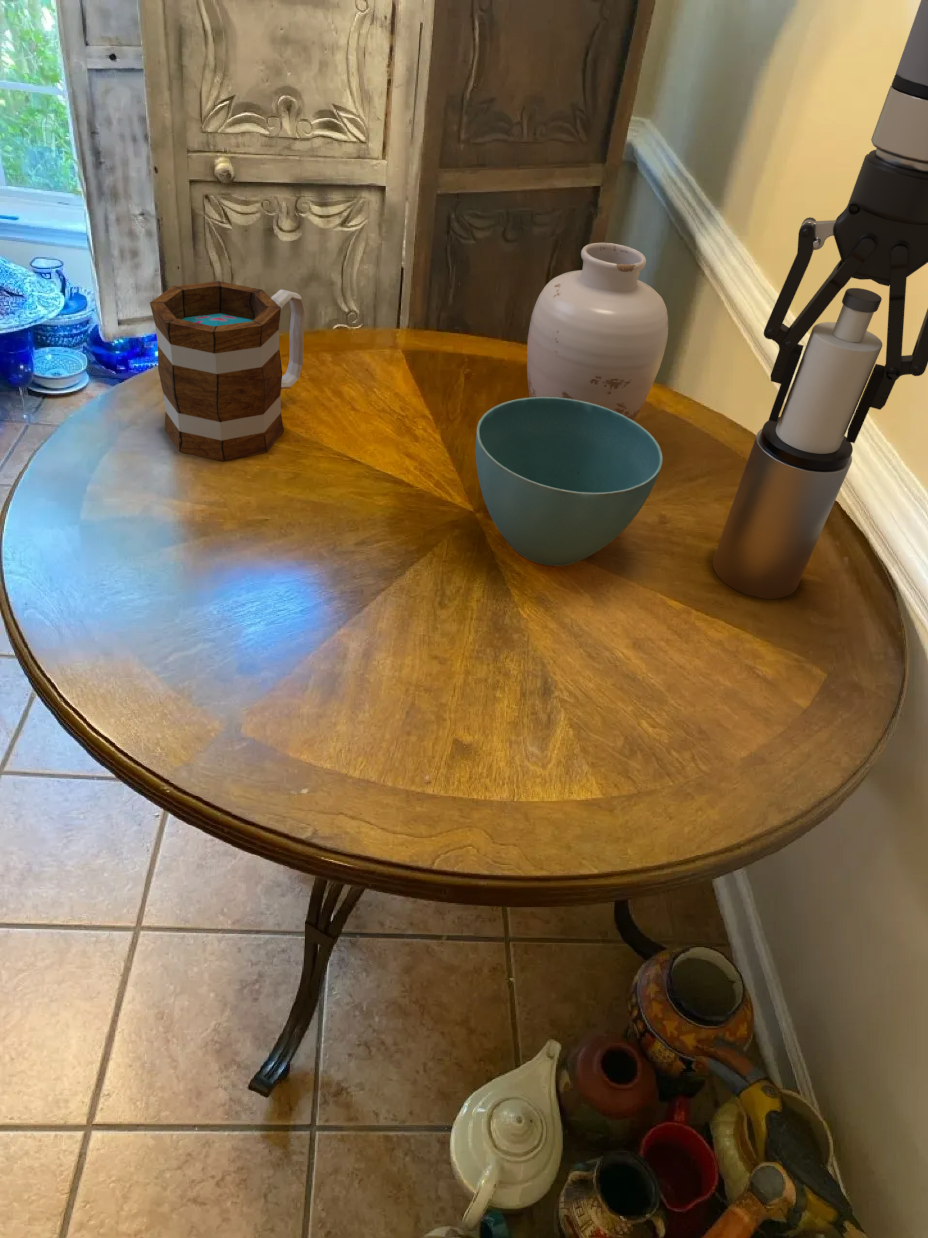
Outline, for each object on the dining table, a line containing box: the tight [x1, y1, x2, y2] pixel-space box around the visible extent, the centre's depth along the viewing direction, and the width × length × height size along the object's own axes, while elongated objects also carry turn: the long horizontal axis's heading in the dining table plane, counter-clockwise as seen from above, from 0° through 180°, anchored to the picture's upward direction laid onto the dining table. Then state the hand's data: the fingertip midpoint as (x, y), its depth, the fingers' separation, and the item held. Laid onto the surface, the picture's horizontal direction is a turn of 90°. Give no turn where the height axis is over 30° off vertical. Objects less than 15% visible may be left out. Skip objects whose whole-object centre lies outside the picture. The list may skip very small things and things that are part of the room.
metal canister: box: [712, 416, 854, 600], centre depth 91 cm, size 9×9×16 cm
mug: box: [149, 280, 306, 462], centre depth 104 cm, size 20×14×15 cm
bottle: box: [776, 287, 883, 454], centre depth 82 cm, size 6×6×14 cm
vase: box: [526, 242, 669, 421], centre depth 107 cm, size 16×16×23 cm
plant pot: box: [475, 397, 664, 567], centre depth 93 cm, size 18×18×12 cm
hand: (812, 424), depth 85 cm, fingers open, 6 cm apart
